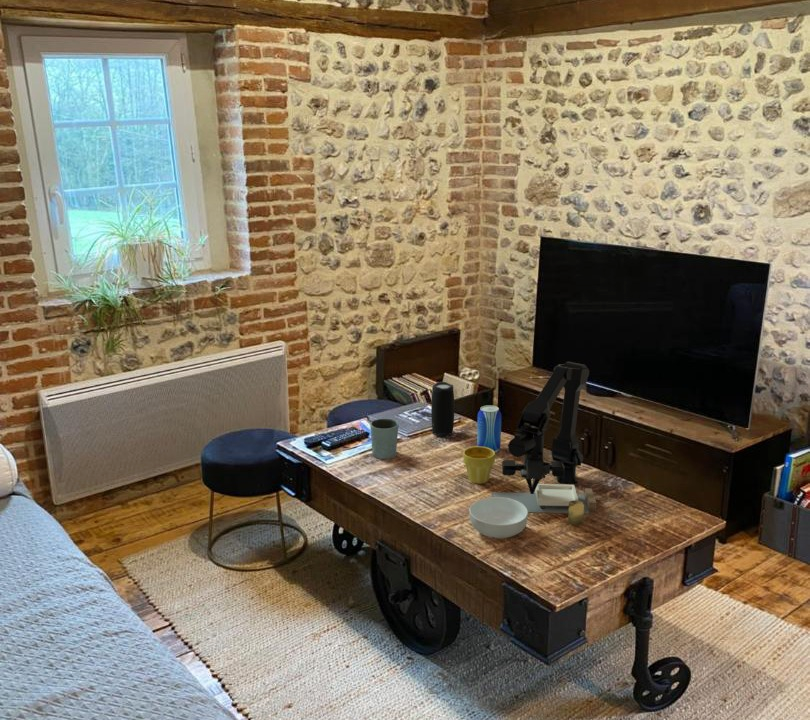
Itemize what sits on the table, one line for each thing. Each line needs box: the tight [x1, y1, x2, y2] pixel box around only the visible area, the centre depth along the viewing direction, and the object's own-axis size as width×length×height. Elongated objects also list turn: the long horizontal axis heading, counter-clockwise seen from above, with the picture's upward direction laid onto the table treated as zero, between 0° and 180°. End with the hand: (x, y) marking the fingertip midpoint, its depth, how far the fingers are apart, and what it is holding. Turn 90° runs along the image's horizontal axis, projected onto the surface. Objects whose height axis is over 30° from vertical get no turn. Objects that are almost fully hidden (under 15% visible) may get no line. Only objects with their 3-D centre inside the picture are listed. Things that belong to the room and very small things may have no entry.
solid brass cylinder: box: [567, 501, 585, 527], centre depth 236 cm, size 4×4×6 cm
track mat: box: [491, 491, 591, 515], centre depth 249 cm, size 13×29×1 cm, turn 86°
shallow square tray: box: [534, 483, 578, 509], centre depth 248 cm, size 10×12×4 cm
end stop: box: [584, 487, 597, 513], centre depth 247 cm, size 10×2×3 cm, turn 176°
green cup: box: [369, 417, 399, 460], centre depth 284 cm, size 10×10×12 cm
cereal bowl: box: [468, 496, 529, 539], centre depth 230 cm, size 17×17×7 cm
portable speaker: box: [430, 381, 455, 438], centre depth 302 cm, size 9×9×20 cm
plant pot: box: [462, 445, 496, 485], centre depth 264 cm, size 10×10×10 cm
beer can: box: [476, 404, 502, 454], centre depth 287 cm, size 8×8×16 cm
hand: (531, 493), depth 248 cm, fingers closed
